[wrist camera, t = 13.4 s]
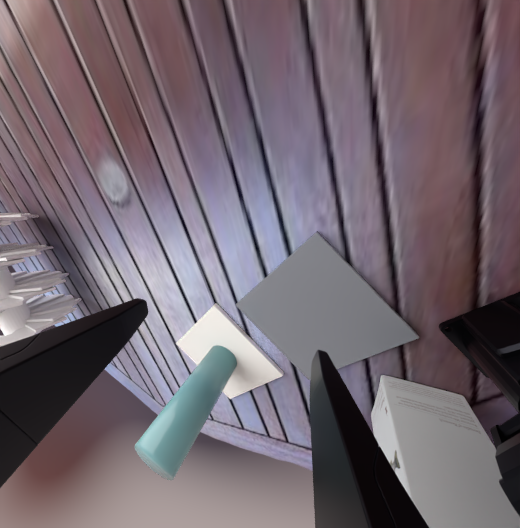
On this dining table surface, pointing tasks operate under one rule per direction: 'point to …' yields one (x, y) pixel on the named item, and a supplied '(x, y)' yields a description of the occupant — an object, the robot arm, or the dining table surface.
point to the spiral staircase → (28, 291)
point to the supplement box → (441, 456)
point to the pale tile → (238, 342)
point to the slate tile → (323, 309)
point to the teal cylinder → (186, 414)
